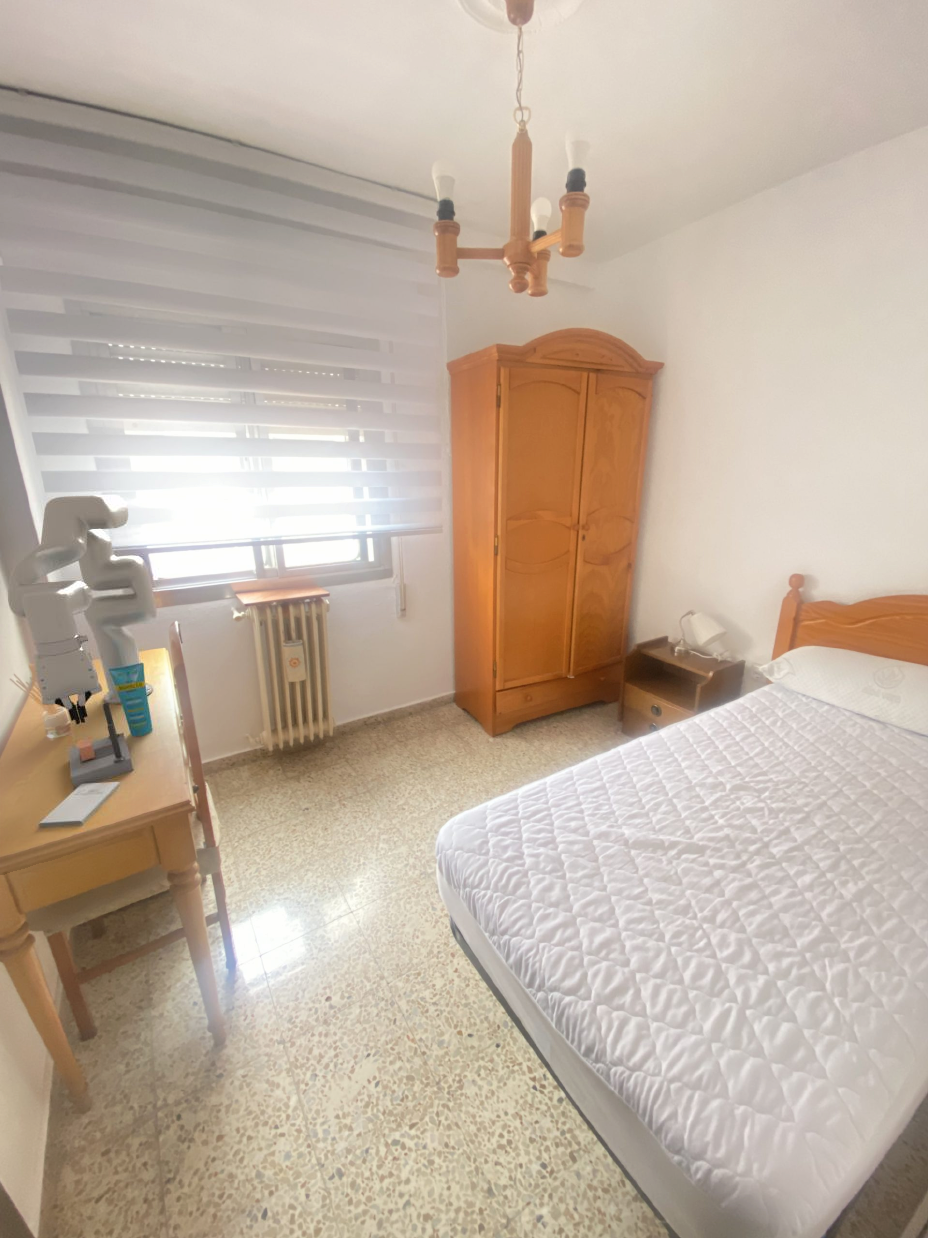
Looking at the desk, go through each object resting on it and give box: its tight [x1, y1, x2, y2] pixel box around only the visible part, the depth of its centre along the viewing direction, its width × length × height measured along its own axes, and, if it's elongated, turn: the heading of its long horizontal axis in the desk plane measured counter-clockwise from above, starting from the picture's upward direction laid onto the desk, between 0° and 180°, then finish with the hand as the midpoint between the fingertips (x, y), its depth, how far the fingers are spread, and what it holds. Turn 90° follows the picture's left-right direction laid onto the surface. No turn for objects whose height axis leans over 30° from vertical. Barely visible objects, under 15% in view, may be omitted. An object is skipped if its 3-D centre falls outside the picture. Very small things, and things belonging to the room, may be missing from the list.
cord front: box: [107, 724, 122, 758], centre depth 111 cm, size 1×1×8 cm
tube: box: [108, 662, 153, 737], centre depth 127 cm, size 7×5×19 cm, turn 123°
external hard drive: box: [38, 781, 121, 828], centre depth 102 cm, size 2×8×12 cm
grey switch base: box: [68, 732, 134, 790], centre depth 116 cm, size 16×11×3 cm
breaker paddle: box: [77, 737, 95, 761], centre depth 114 cm, size 4×2×3 cm, turn 39°
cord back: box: [102, 702, 117, 733], centre depth 121 cm, size 1×1×8 cm
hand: (80, 721), depth 112 cm, fingers closed
